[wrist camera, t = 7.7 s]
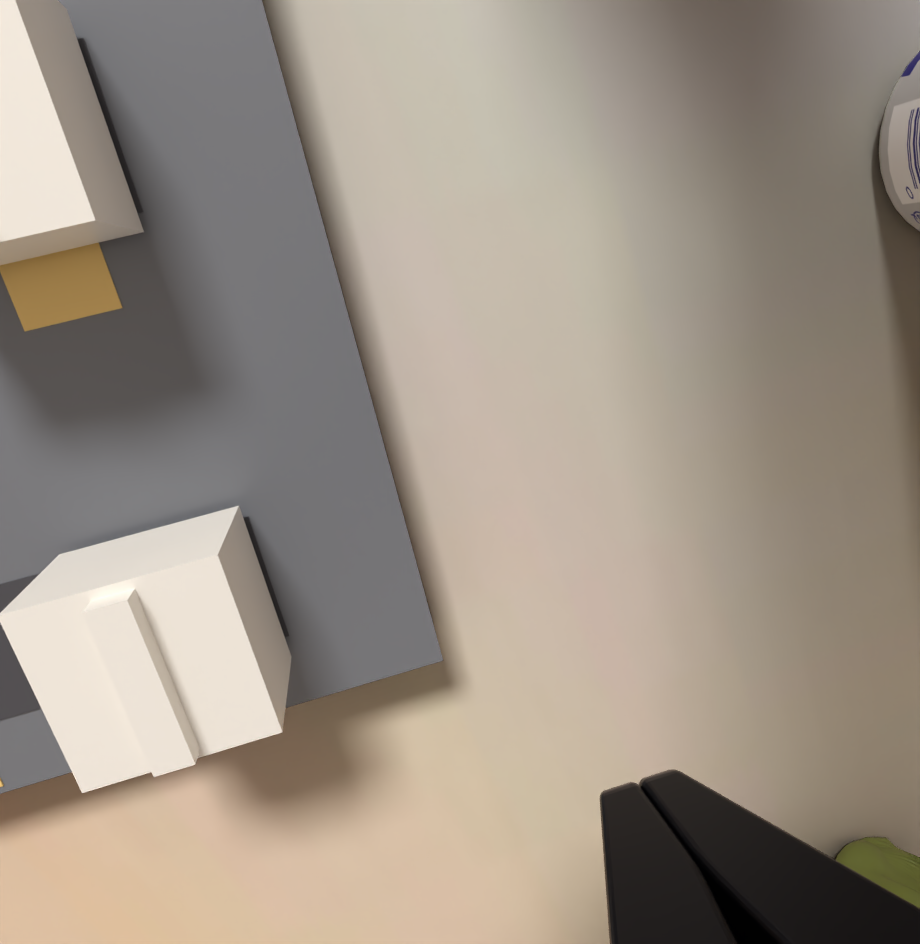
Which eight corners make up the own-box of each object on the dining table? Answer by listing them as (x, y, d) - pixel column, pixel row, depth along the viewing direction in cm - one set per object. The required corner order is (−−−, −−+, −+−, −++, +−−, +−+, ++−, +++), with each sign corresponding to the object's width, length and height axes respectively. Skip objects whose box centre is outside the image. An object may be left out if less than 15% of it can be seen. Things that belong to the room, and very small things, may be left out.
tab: (238, 505, 16) (212, 565, 13) (291, 657, 17) (280, 747, 14) (58, 554, 16) (-17, 629, 12) (125, 705, 17) (72, 811, 13)
